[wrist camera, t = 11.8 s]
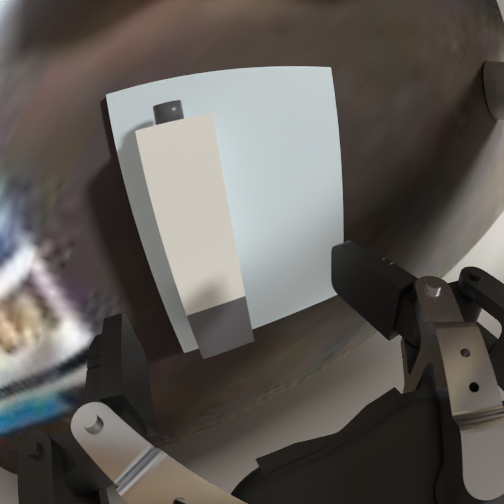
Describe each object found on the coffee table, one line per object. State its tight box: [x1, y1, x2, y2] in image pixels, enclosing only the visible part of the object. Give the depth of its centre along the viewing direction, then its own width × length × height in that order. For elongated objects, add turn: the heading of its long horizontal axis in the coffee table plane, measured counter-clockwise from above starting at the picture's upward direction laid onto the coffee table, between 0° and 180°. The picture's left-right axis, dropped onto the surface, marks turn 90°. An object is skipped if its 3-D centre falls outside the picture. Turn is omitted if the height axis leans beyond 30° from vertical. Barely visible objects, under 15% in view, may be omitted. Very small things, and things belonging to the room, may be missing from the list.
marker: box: [135, 100, 254, 359], centre depth 15 cm, size 14×3×3 cm, turn 9°
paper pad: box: [106, 66, 343, 353], centre depth 18 cm, size 14×18×1 cm
